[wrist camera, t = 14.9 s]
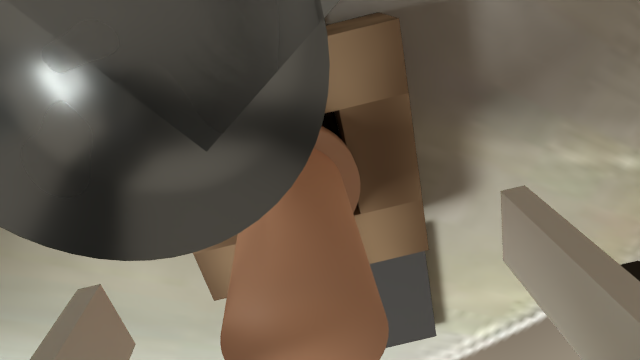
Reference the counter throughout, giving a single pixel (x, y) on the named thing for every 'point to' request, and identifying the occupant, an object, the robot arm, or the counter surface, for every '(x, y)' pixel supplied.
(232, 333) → the peg
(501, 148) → the counter surface
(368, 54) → the socket block
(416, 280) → the mat
